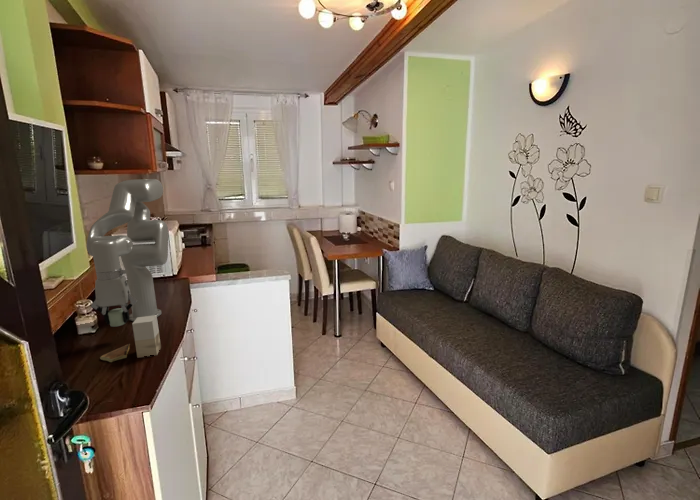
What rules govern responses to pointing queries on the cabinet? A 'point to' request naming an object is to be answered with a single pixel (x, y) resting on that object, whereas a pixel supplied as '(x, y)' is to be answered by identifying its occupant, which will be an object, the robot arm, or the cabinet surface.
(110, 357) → the shard
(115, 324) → the green cylinder
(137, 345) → the tower base
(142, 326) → the tower top
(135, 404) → the cabinet surface
